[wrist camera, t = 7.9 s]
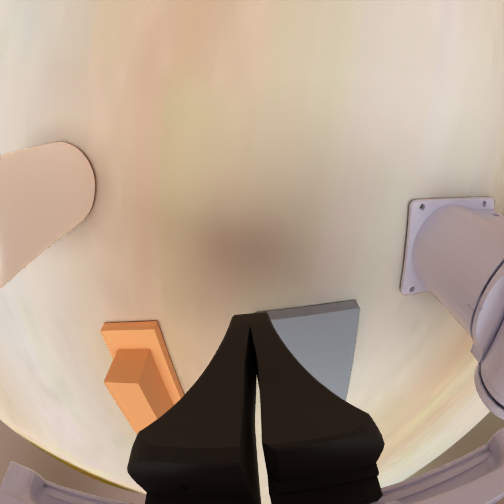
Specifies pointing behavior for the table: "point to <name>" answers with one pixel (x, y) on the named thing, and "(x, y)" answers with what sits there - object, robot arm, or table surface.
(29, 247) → the can
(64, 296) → the table surface
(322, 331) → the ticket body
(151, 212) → the table surface
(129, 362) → the stub
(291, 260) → the table surface
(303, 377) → the robot arm
